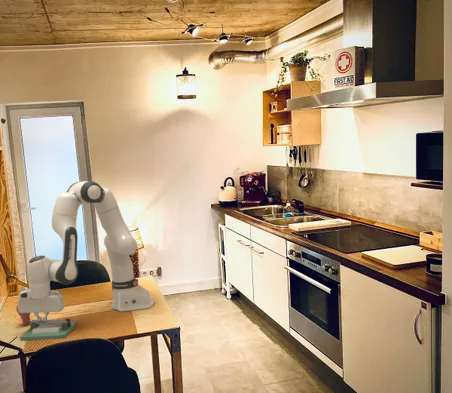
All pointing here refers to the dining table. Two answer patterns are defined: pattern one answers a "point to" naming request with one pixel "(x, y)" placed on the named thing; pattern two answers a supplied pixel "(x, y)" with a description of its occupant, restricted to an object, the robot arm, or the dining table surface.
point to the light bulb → (24, 317)
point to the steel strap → (49, 322)
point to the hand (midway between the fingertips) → (42, 321)
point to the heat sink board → (48, 331)
